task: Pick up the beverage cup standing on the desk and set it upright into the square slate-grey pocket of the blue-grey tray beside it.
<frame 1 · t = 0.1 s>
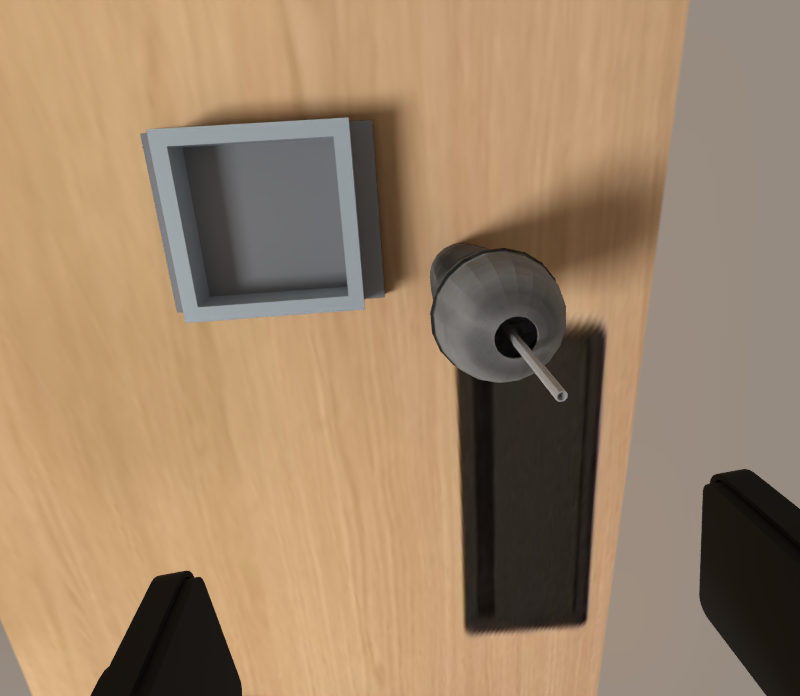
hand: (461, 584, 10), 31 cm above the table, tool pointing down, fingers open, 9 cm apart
beverage cup: (459, 273, 40), on the table
blue-grey tray: (272, 219, 38), on the table
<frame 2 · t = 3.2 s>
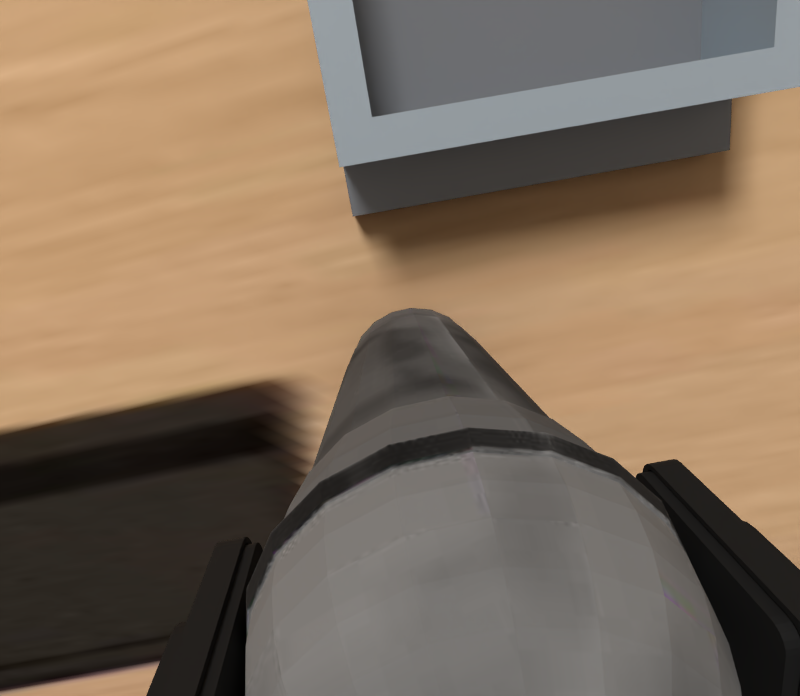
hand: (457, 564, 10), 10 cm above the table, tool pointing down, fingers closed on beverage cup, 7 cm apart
beverage cup: (413, 365, 20), on the table, touching gripper
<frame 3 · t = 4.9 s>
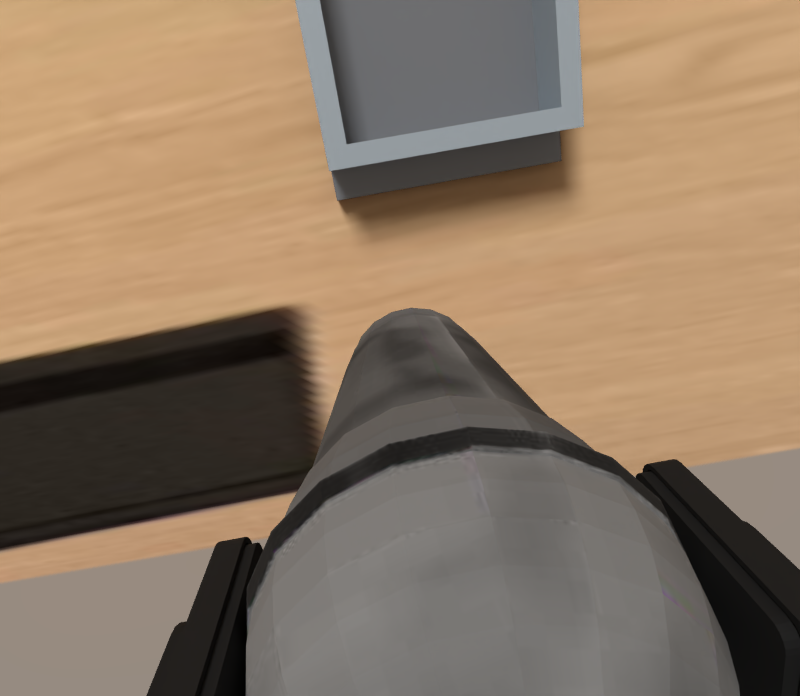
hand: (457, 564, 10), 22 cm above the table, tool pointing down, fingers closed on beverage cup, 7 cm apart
beverage cup: (413, 365, 20), point 12 cm above the table, touching gripper
blue-grey tray: (426, 23, 26), on the table
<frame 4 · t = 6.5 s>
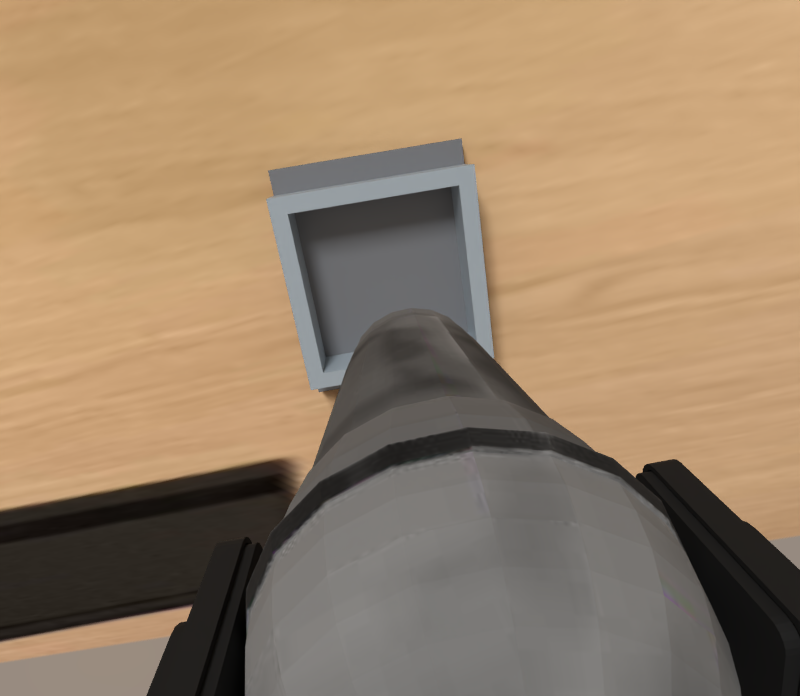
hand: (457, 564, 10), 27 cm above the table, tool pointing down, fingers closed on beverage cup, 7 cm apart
beverage cup: (413, 365, 20), point 17 cm above the table, touching gripper
blue-grey tray: (384, 271, 36), on the table
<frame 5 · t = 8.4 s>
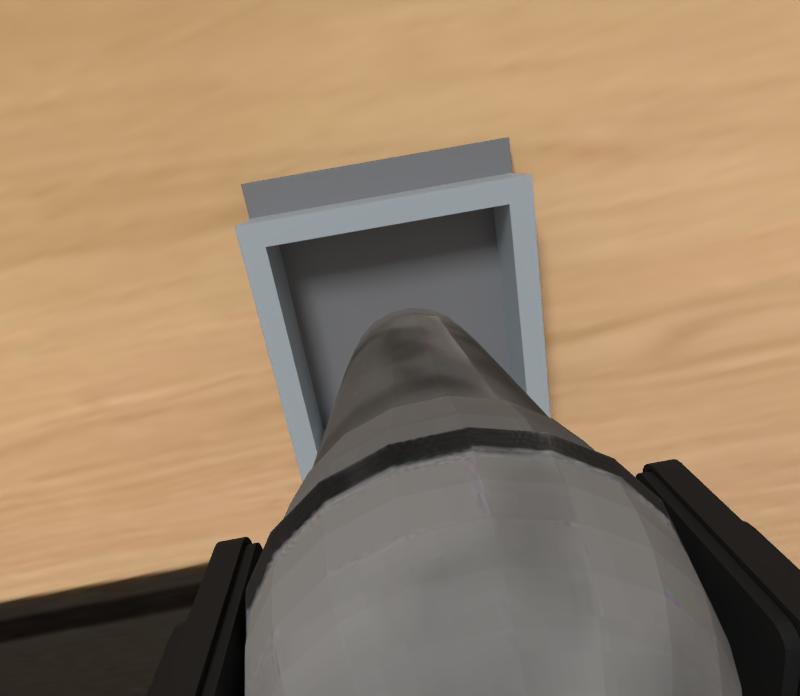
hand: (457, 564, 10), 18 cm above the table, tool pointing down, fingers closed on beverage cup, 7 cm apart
beverage cup: (413, 365, 20), point 8 cm above the table, touching gripper
blue-grey tray: (401, 315, 27), on the table
when the fingers open (12 cm above the table, at t = 10.1 s): beverage cup drops 1 cm, resting on blue-grey tray.
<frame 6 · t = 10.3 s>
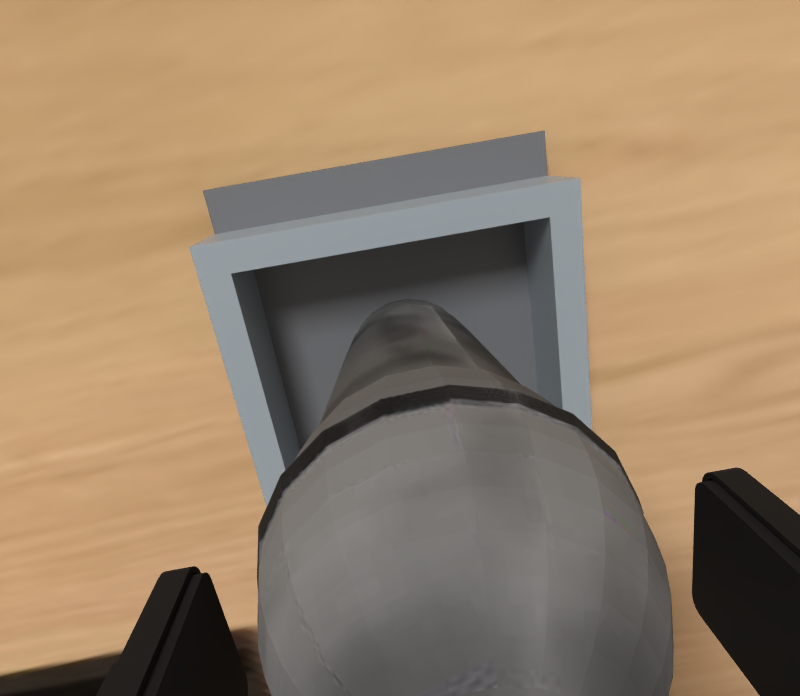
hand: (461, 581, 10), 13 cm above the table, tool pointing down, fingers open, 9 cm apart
beverage cup: (409, 353, 21), point 1 cm above the table, touching blue-grey tray
blue-grey tray: (406, 351, 22), on the table
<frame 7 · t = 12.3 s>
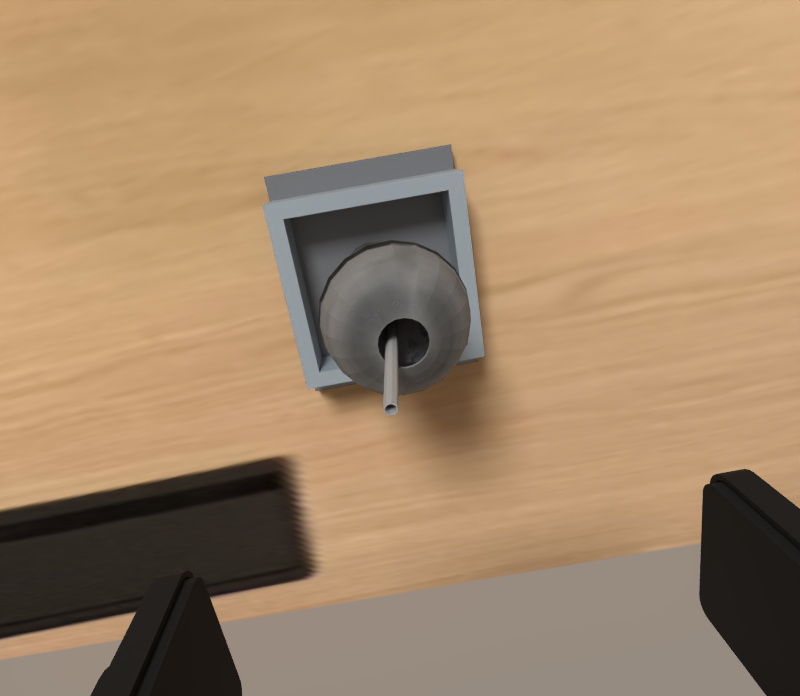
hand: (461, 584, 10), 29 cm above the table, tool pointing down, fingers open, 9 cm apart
beverage cup: (379, 272, 36), point 1 cm above the table, touching blue-grey tray
blue-grey tray: (378, 273, 37), on the table
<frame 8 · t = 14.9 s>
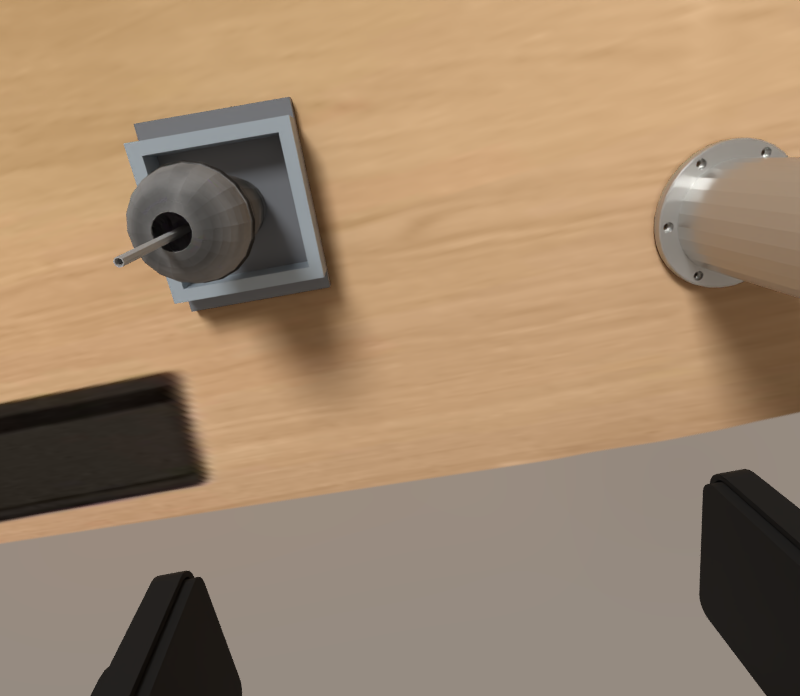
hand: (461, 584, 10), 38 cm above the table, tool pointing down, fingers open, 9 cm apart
beverage cup: (238, 207, 43), point 1 cm above the table, touching blue-grey tray
blue-grey tray: (240, 209, 44), on the table
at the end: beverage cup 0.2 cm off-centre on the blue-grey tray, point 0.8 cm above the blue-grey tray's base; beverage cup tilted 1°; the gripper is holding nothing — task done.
